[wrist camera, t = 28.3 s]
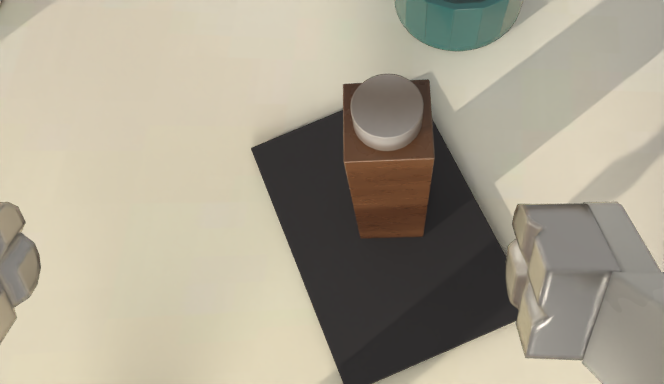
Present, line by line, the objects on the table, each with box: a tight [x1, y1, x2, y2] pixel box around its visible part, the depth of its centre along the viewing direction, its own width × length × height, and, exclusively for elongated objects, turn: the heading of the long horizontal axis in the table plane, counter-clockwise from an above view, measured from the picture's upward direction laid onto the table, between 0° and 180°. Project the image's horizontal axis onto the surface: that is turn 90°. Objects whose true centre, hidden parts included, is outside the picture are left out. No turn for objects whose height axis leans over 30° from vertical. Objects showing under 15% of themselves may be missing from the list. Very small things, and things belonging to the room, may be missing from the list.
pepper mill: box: [343, 74, 435, 238], centre depth 37 cm, size 5×5×16 cm
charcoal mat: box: [251, 110, 519, 384], centre depth 44 cm, size 20×14×1 cm
